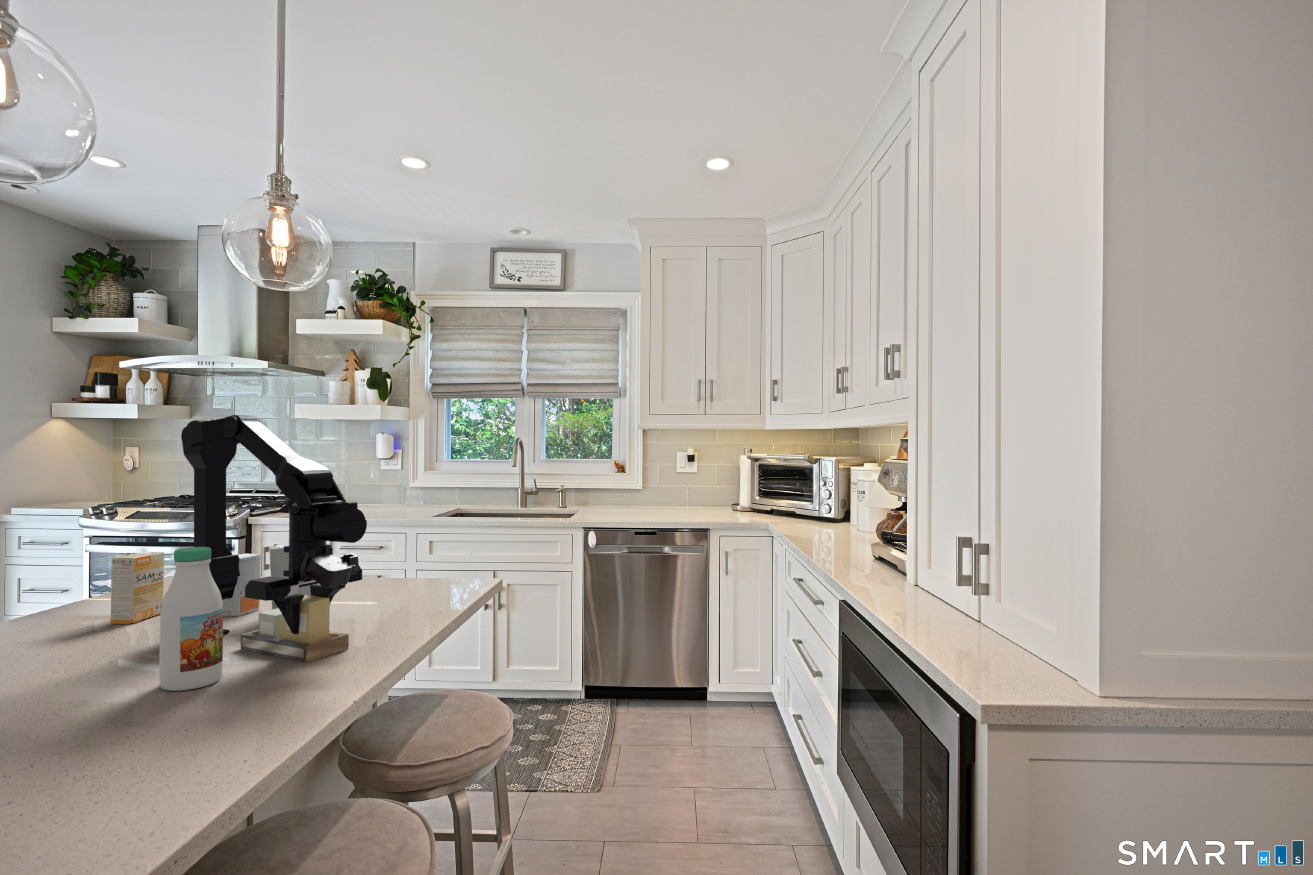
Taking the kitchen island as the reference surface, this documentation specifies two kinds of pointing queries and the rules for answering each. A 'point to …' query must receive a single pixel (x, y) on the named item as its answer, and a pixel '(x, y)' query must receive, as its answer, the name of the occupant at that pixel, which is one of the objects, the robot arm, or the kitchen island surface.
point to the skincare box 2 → (282, 567)
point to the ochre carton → (311, 621)
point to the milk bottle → (191, 624)
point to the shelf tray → (295, 646)
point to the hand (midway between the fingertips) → (307, 630)
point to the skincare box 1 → (243, 587)
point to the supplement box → (136, 587)
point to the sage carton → (272, 624)
